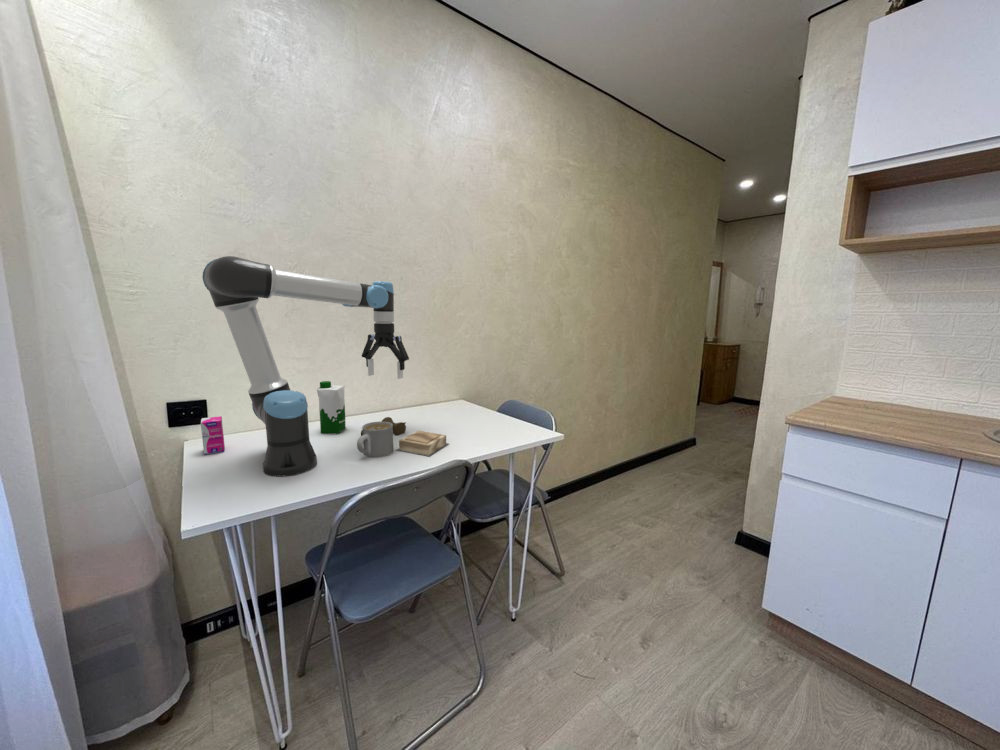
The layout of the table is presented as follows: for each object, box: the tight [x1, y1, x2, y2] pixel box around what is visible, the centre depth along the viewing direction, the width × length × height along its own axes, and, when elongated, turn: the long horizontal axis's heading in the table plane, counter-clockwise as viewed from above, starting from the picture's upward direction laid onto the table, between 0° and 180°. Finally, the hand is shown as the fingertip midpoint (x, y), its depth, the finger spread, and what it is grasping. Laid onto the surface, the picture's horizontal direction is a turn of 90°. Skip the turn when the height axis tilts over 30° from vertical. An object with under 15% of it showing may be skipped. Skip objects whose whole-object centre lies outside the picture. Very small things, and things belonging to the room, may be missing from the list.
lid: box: [398, 430, 447, 456], centre depth 143 cm, size 12×12×4 cm
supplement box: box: [200, 415, 226, 456], centre depth 136 cm, size 6×6×12 cm
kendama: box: [360, 416, 407, 437], centre depth 156 cm, size 6×10×20 cm
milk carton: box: [316, 380, 347, 435], centre depth 158 cm, size 9×9×20 cm
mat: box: [395, 442, 450, 458], centre depth 143 cm, size 14×14×1 cm
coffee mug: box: [356, 421, 394, 458], centre depth 136 cm, size 13×10×10 cm
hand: (385, 376), depth 157 cm, fingers open, 13 cm apart
